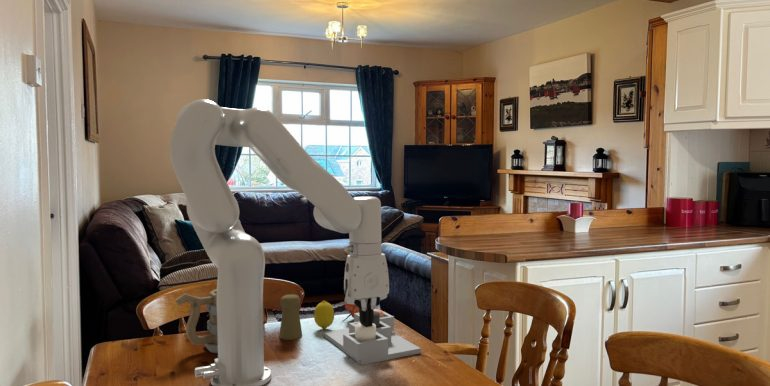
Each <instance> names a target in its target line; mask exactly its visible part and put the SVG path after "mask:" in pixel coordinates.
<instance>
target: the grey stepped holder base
mask: <svg viewBox="0 0 770 386" xmlns="http://www.w3.org/2000/svg"><path fill="white" fill-rule="evenodd" d="M382 311H383V310H382ZM358 323H360V321H359V313H354V318H353V322H349V323H348V327H346V328H339V329H334V330H328V331H323V332H322V333H323V334H322V335H323V337H324V338H325V339H326V340H328V342H330V343H331V344H333V345H334V346H336V347H337V348H338V349H340V350H341V351H342V352H344V353H345V354H346V355H348V356H349V357H350V358H352V359H353V360H355V361H356V362H357V363H359V364H360V365H361V366H362V365H363V366H364V365H367V364H368V365H369V364H373V363H378V362H382V361H388V360H392V359H393V360H394V359H397V358H402V357H408V356H414V355H419V354H421V352H422V351H421V347H419V346H418V345H416V344H414V343H412V342H410V341H408V340H406V338H403V337H402V336H400V335H398V334H397V333H394V331H395V316H394V315H391V314H389V313H388V312H386V311H383V317H382V318H380V328H376V339H375V340H370V341H364V342H359V341H357V340H356V339H355V325H356V324H358Z"/></svg>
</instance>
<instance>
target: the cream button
mask: <svg viewBox="0 0 770 386" xmlns="http://www.w3.org/2000/svg"><path fill="white" fill-rule="evenodd" d="M355 339H356V340H357V341H359V342H364V341H370V340H375V339H376V325H375V324H374V323H373V326H368V327H365V326H363V325H361V323H358V324H356V325H355Z"/></svg>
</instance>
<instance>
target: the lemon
mask: <svg viewBox="0 0 770 386" xmlns="http://www.w3.org/2000/svg"><path fill="white" fill-rule="evenodd" d="M334 310H335V309H334V307H333V306H332V304H331V303H329V302H328V301H326V300H322V301H321V302H319V303H318V304H317V305H316V307H315V308H314V312H313V318H314V319H313V320H314V322H315V324H316V325H317V326H318V327H319V328H321V329H322V330H326V329H327V328H328V327H330V326H332V325H333V322H334V320H335V311H334Z"/></svg>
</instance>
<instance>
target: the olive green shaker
mask: <svg viewBox="0 0 770 386" xmlns="http://www.w3.org/2000/svg"><path fill="white" fill-rule="evenodd" d="M279 301H280V307H281V308H282V310H281V311H282V312H281V318H280V319H281V320H280V328H279V335H278V337H279V338H280V340H285V341H286V340H297V339H301V338H302V337H303V331H302V324H301V318H300V310H299V307H300V305H301V299H300V297H299V295H297V294H285V295H283V296H282V297H280V300H279Z"/></svg>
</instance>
